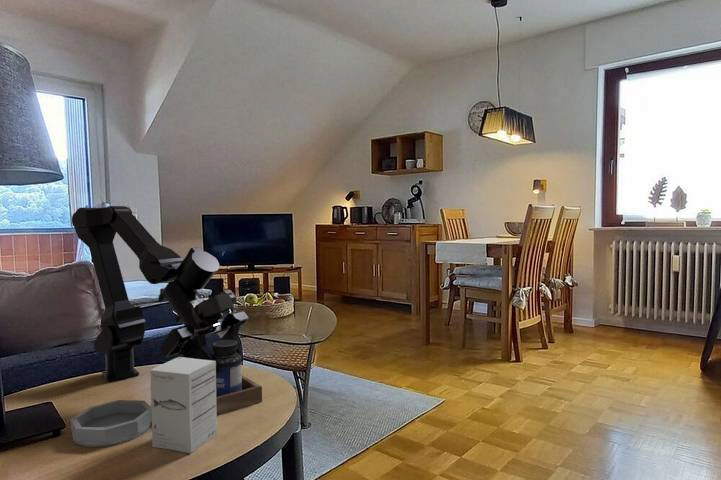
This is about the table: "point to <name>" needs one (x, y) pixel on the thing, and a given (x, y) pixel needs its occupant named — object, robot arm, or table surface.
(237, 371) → the pill bottle
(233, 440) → the table surface
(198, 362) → the supplement box
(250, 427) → the table surface
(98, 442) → the tray
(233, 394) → the holder
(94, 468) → the table surface
